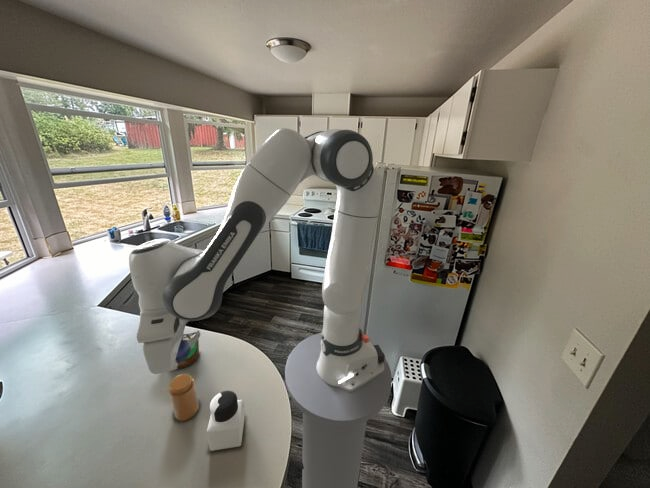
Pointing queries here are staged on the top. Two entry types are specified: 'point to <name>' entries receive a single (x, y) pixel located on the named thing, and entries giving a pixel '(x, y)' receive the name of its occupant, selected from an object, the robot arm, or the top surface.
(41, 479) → the top surface
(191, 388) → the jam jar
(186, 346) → the jar lid
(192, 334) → the food container
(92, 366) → the top surface
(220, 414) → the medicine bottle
